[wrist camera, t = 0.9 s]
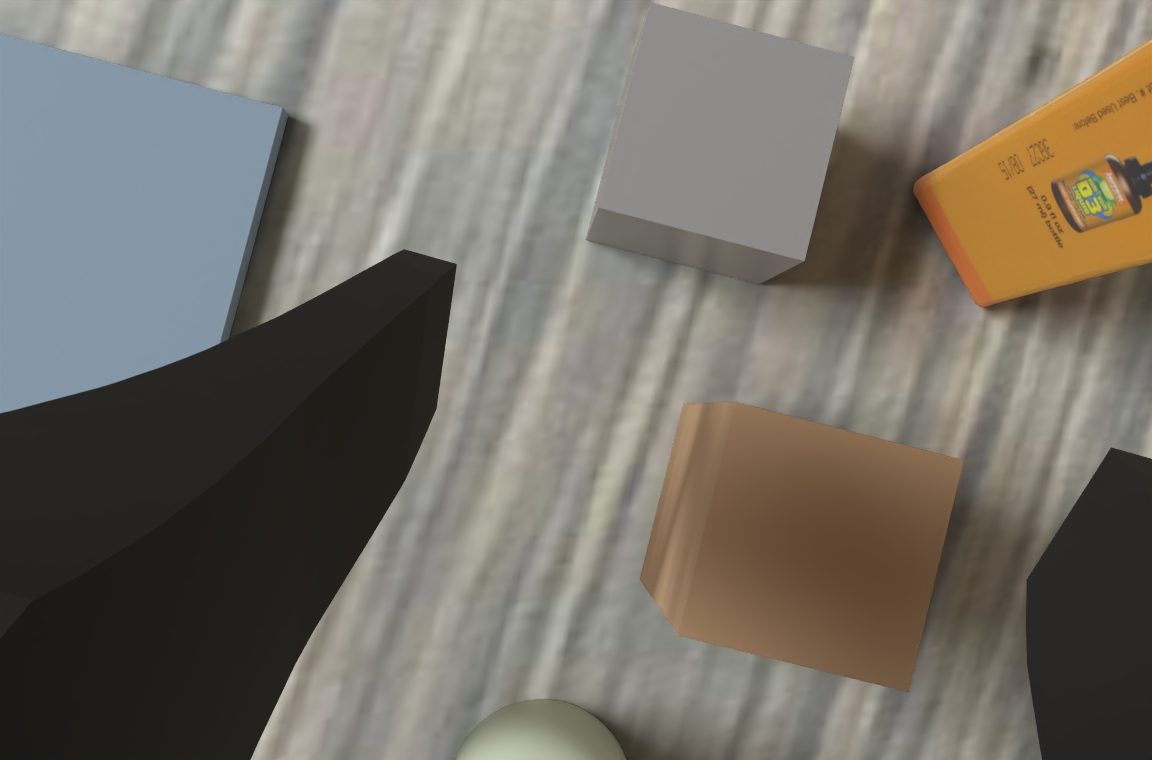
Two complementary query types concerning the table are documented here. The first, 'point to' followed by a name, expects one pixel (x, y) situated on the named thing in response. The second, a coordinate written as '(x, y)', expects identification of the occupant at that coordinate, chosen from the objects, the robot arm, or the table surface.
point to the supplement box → (1053, 190)
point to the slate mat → (119, 218)
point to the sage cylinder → (540, 734)
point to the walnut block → (799, 540)
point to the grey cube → (719, 146)
